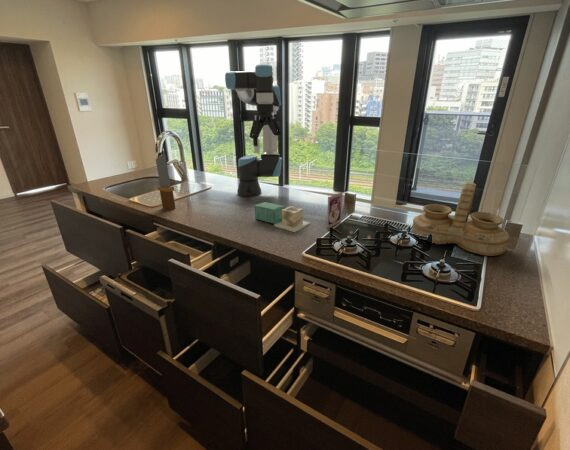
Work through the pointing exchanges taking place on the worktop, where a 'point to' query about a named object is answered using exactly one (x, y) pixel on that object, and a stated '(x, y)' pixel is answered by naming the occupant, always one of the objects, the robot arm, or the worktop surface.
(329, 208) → the greeting card
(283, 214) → the letter cube
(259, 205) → the box
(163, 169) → the knife
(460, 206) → the ceramic vessel
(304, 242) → the worktop surface
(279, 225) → the tile
